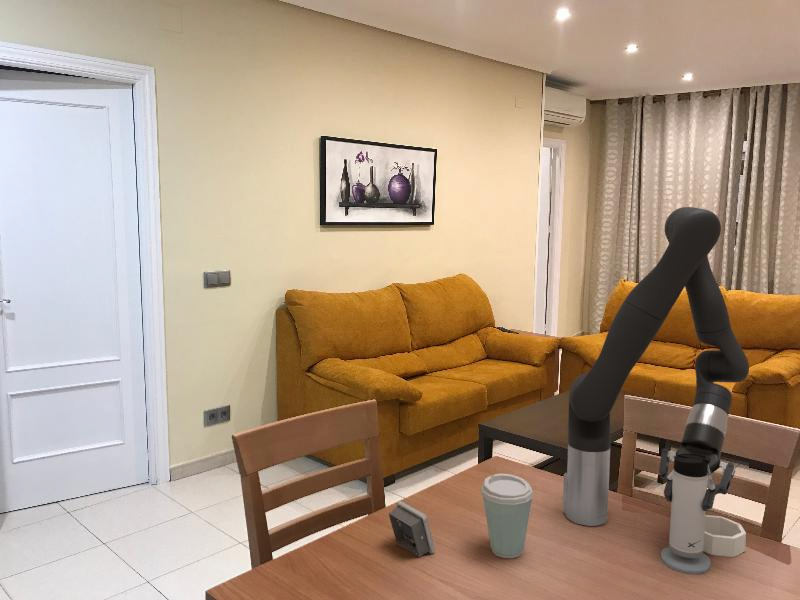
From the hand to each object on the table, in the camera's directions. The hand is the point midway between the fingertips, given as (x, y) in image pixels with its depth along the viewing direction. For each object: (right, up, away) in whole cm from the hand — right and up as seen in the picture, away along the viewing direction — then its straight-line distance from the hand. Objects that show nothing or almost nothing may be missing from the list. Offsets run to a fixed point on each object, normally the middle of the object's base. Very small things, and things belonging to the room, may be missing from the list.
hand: (686, 504), depth 126 cm
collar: (+11, -12, +10) cm, 19 cm away
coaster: (+1, -12, +3) cm, 13 cm away
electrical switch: (-54, -12, +8) cm, 56 cm away
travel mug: (+1, -10, +3) cm, 11 cm away
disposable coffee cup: (-34, -12, +7) cm, 37 cm away
